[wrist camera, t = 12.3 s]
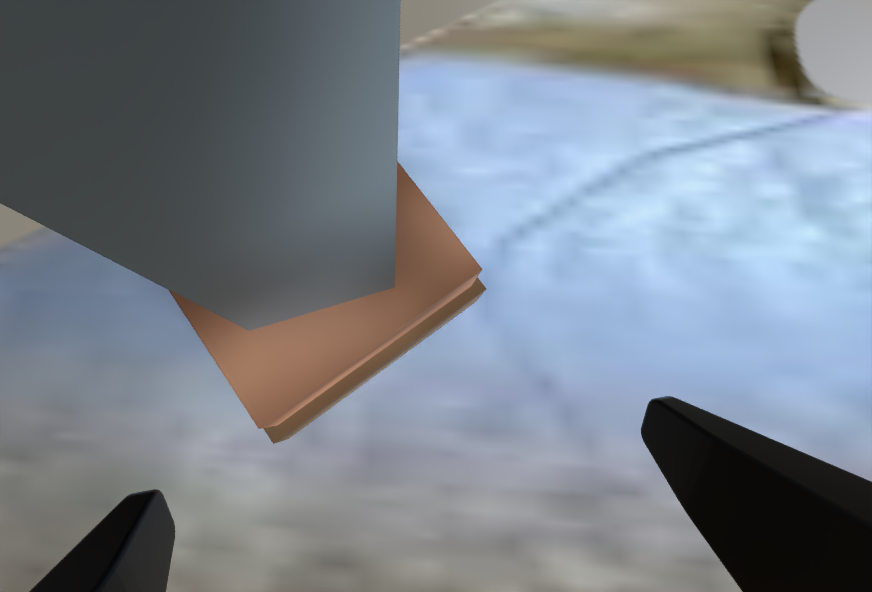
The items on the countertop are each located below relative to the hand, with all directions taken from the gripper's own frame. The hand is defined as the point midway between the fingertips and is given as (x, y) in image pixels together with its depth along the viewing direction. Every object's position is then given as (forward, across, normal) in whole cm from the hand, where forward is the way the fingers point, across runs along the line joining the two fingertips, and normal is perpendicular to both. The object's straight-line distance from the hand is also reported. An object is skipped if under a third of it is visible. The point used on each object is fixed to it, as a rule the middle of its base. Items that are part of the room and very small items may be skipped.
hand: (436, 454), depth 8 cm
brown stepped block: (+15, +2, +2) cm, 15 cm away
